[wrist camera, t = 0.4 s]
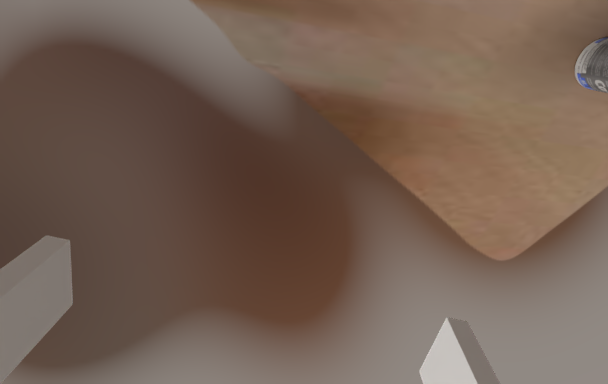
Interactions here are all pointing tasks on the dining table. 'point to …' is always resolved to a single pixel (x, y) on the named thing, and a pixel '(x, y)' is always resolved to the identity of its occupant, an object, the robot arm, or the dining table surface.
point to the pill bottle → (593, 66)
